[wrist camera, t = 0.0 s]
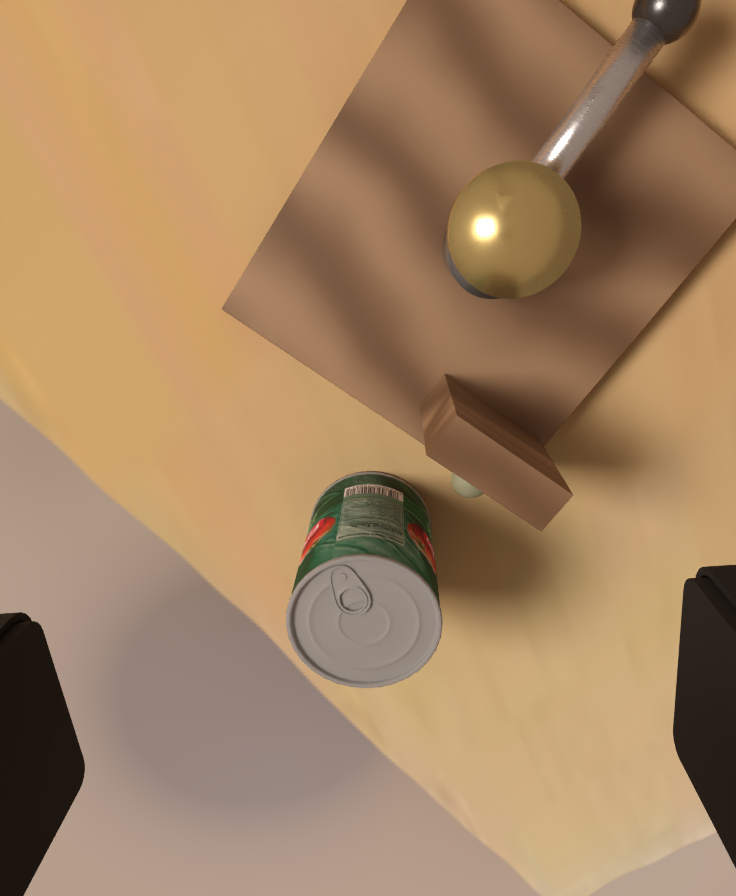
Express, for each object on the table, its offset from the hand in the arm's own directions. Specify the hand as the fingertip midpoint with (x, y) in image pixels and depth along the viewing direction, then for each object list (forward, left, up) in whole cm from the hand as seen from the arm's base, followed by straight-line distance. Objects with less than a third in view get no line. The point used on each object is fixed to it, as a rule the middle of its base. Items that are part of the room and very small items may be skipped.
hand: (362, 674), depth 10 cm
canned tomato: (+12, +7, -31) cm, 34 cm away
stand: (-6, +2, -31) cm, 32 cm away
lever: (-12, +2, -29) cm, 32 cm away
